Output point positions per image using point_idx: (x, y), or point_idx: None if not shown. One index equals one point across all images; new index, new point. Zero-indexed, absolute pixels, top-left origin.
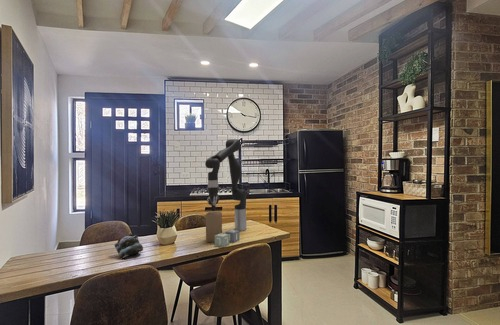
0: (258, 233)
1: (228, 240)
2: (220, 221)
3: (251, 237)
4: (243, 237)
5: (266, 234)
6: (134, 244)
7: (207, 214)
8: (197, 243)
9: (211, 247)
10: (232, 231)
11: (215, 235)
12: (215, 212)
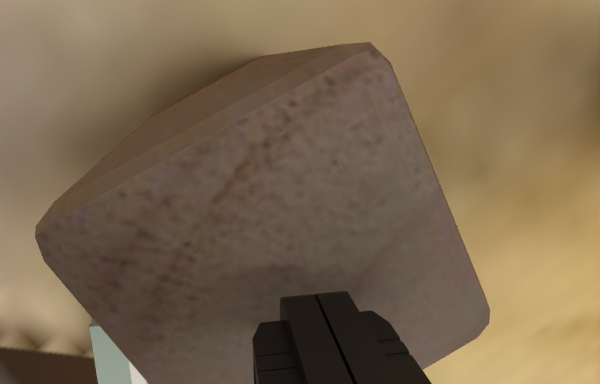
0: (595, 309)
1: None
2: None
3: (474, 341)
4: None
5: (584, 370)
6: None
7: (61, 279)
8: (55, 67)
9: (51, 286)
10: None
11: (94, 335)
12: (358, 296)
